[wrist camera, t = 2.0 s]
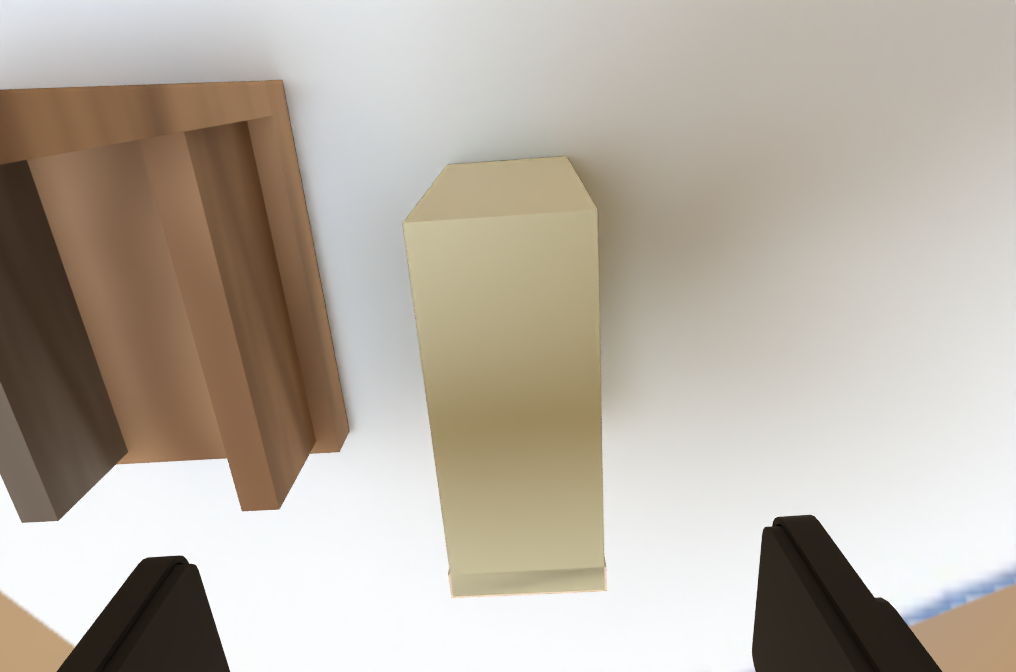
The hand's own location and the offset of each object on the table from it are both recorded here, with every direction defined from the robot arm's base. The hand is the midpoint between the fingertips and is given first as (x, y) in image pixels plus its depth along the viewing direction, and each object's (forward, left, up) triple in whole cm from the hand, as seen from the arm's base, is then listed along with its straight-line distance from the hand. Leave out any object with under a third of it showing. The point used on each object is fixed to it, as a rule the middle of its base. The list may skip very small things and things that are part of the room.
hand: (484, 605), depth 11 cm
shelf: (+11, -2, -14) cm, 18 cm away
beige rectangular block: (-1, 0, -14) cm, 14 cm away
